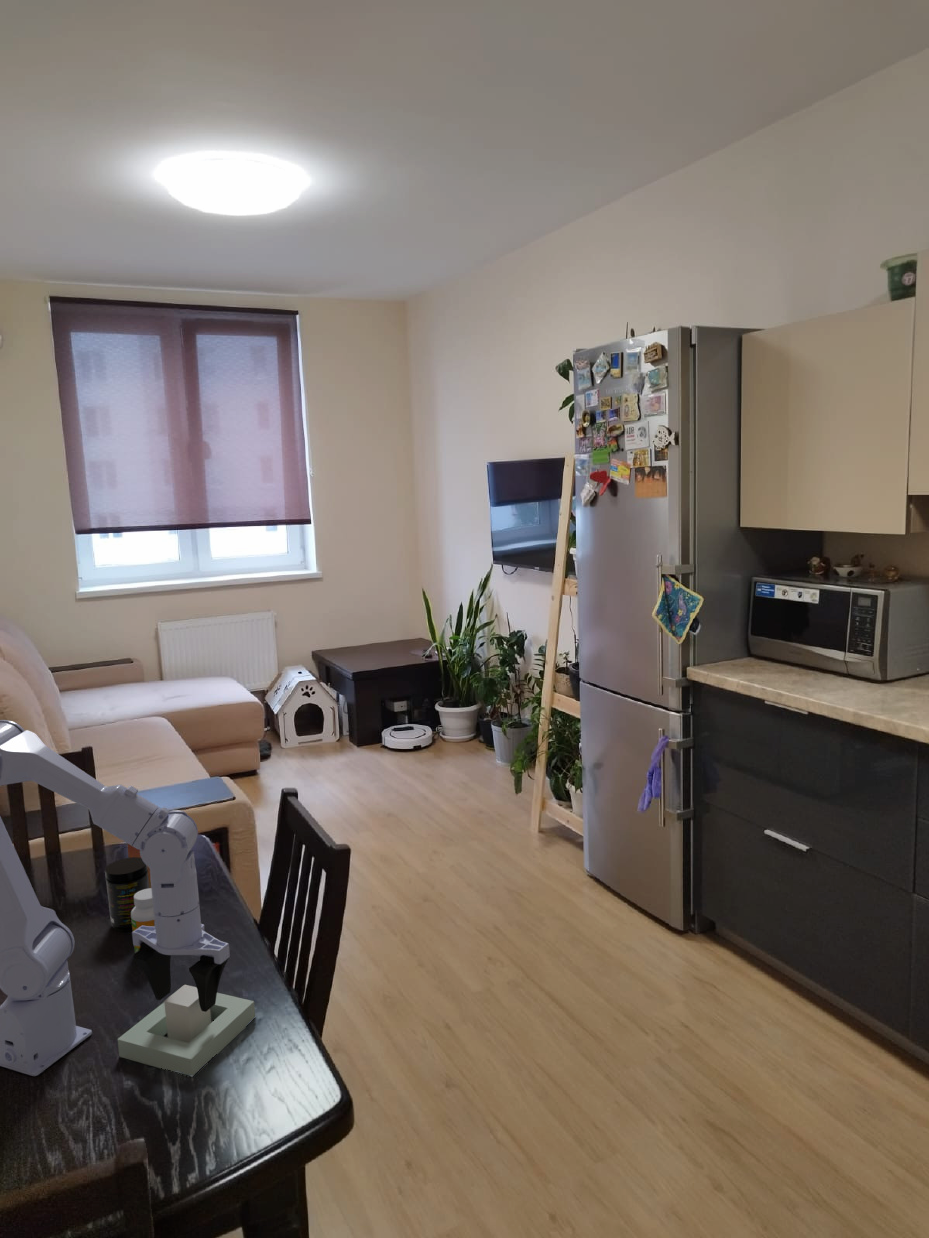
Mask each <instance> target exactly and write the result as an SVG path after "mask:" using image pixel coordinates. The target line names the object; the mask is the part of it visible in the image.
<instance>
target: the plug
mask: <svg viewBox="0 0 929 1238" xmlns="http://www.w3.org/2000/svg"><path fill="white" fill-rule="evenodd" d="M163 1003H164V1005H165V1014H166V1024H167V1038H171V1039H175V1040H179V1041H182V1042H186V1043H189V1042H190V1041H191V1040H193V1039H194V1038H195V1037H196V1036H197V1035H198V1034H199V1033H200V1032H202V1031H203V1030H204V1029H205V1028H206V1027H207V1026H208V1025H209V1024H211V1023H212V1022H213V1019H212V1008H210V1009H209V1010H208V1011H206V1012H204V1011H202V1010H201V1008H200V1004H199V997H198V990H197V987H196V986H193V985H187V984H184V985H182V986H181V987H180V988H178V989H177V990H176V991H175V992H174V993H172V994H171V995H170V996H168V997H167V998H166V999H165V1000H164V1001H163Z"/></svg>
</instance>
